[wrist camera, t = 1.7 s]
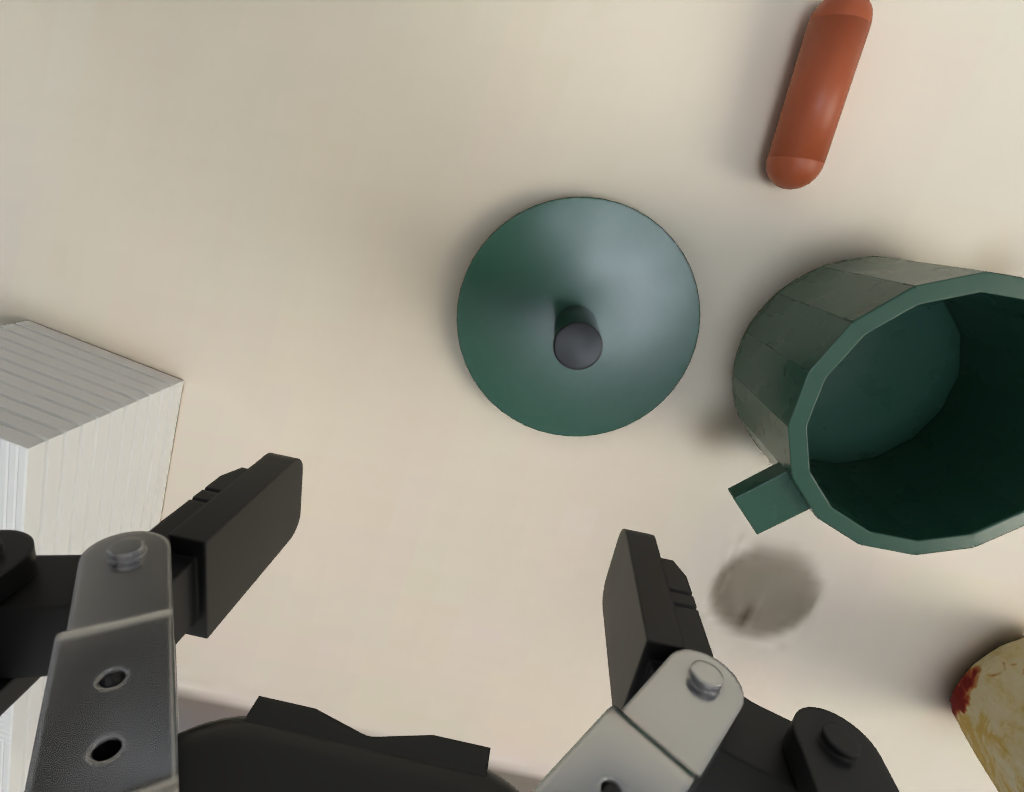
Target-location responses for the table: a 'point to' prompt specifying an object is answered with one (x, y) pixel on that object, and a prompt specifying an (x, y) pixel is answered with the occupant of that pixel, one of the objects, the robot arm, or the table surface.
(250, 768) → the robot arm
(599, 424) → the lid
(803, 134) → the hot dog
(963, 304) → the pot
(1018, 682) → the food model
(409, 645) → the table surface
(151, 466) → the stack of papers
